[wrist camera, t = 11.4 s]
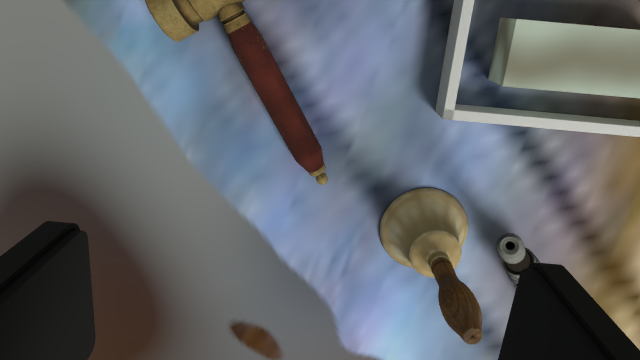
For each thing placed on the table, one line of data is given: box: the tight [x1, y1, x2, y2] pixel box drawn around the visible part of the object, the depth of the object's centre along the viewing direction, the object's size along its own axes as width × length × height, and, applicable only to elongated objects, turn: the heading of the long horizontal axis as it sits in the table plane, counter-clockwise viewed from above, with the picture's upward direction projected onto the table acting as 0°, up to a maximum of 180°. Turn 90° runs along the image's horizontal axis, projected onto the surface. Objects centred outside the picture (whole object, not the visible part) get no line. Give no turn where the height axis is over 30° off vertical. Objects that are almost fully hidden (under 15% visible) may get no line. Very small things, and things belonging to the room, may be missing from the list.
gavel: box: [145, 0, 328, 185], centre depth 41 cm, size 21×5×10 cm
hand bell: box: [380, 188, 483, 344], centre depth 39 cm, size 8×8×16 cm
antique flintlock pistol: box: [496, 233, 540, 284], centre depth 45 cm, size 6×30×10 cm, turn 37°
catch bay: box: [435, 0, 640, 137], centre depth 39 cm, size 13×22×3 cm, turn 85°
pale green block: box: [488, 18, 640, 98], centre depth 40 cm, size 5×12×4 cm, turn 85°
